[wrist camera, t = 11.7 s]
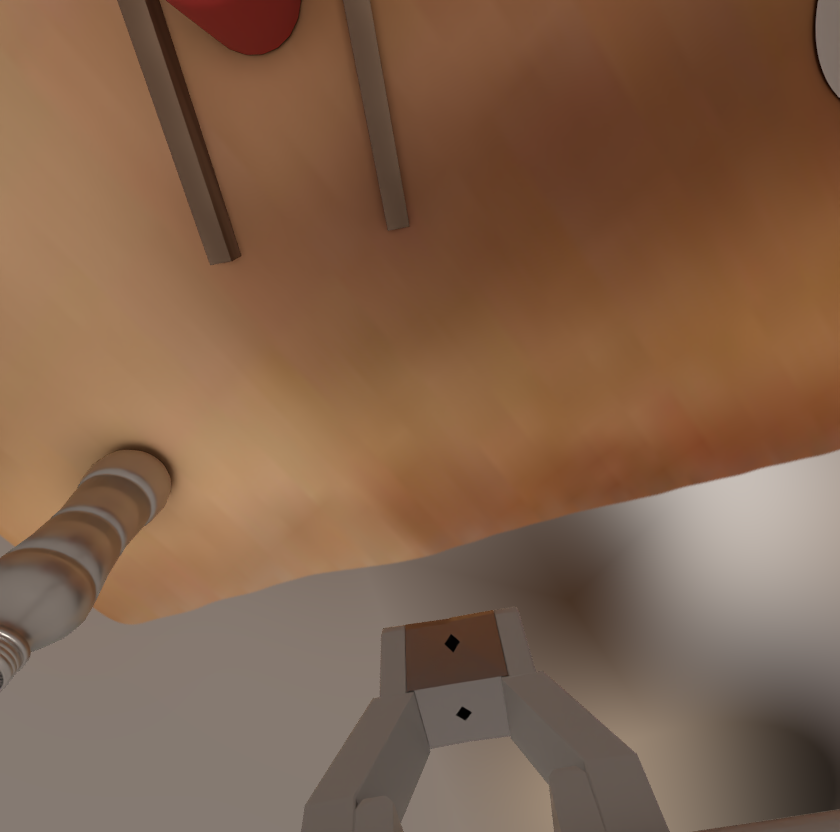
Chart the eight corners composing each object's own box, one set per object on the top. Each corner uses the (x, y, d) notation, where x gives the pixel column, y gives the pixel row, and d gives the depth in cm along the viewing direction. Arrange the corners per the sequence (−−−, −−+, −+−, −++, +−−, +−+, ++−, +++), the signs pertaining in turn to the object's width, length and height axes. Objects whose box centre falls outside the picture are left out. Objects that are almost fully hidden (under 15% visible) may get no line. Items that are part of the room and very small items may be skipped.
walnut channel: (334, -194, 27) (329, -227, 25) (408, 223, 37) (409, 226, 34) (86, -138, 28) (59, -166, 25) (221, 259, 37) (210, 265, 35)
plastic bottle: (85, 471, 44) (-127, 676, 26) (133, 425, 42) (-59, 610, 24) (147, 515, 46) (-9, 732, 28) (195, 473, 45) (61, 675, 27)
